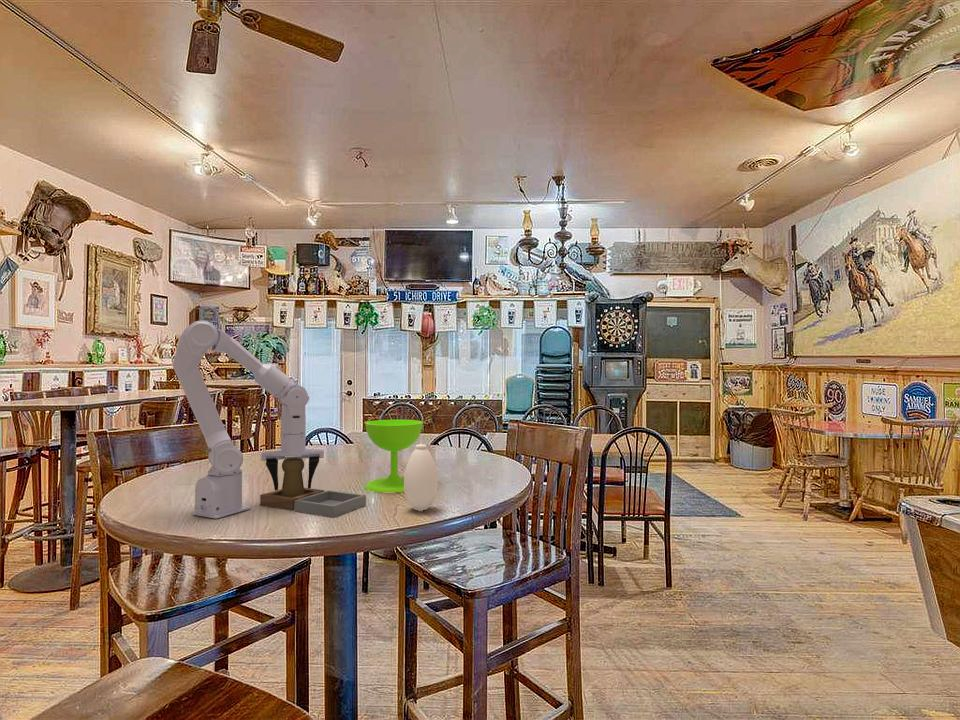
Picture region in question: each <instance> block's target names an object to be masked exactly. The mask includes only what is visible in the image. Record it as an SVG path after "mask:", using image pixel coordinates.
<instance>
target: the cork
mask: <svg viewBox="0 0 960 720" xmlns="http://www.w3.org/2000/svg"><path fill="white" fill-rule="evenodd" d="M304 468H305V462H304V459H299V458H290V459H283V460H282V463H281V469H282V471H283V472H284V473H283V478H282V487H281V489H282V492H281V496H286V497H297V496H300V495H303V494H305V493H304V488H305V487H304V479H303V470H304Z"/></svg>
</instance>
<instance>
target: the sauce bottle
mask: <svg viewBox="0 0 960 720" xmlns="http://www.w3.org/2000/svg"><path fill="white" fill-rule="evenodd" d="M419 437H420V438H419V444H418V443H417V444H416V445H415V449H414V450H413V452H412V453H411V455H410V456H409V458H408V461H407V464H406V467H405V469H404V470H405V471H404V477H403V478H404V497H405V499H406V501H407V503H408V505H409V506H410V507H412V508H413V510H415V511H417V510H418V511H417V512H424V511H423V510H428V509H429V506H432V505H433V503H434V501H435V499H436V498H437V494H438V489H439V477H438V475H439V474H438V470H437V467H436V463H435V461H434V457H433V456H432V454H431V452H430V451H429V449H428V446H427V444H423V435H422V433H420V436H419Z"/></svg>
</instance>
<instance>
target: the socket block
mask: <svg viewBox="0 0 960 720" xmlns="http://www.w3.org/2000/svg"><path fill="white" fill-rule="evenodd" d="M324 491H325V490H324V489H317V488H312V487H311V488H308V487H304V493H305V494H303V495H300V496H297V497H286V496H281V492H282V488H281V489H278V490H272V491H270V492H266V493H261V494H260V495H259V505H260V506H262V505H263V507H269V508H270V507H271V508H275V507H276V508H277V509H282V510H283V509H284V510H288V511H294V500H298V499H301V498H304V497H308V496H311V495H314V494H318V493H321V492H324Z"/></svg>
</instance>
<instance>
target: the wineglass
mask: <svg viewBox="0 0 960 720" xmlns="http://www.w3.org/2000/svg"><path fill="white" fill-rule="evenodd" d="M423 423H424V422H423V421H422V420H415V419H379V420H370V421H366V422H365V423H364V424H365V431H366V434H367V435H368V438H369V439H370V440H371V442H372V443H373V444H374V445H376V446H377V447H378V448H380V449H381V450H385V451H387V452H390V474H389V475H388V477H382V478H376V479H372V480H370V481H369V482H367V483H366V484H365V486H364V489H365V490H366V491H368V490H369V492H371V491H374V492H373V493H377V492H404V477H403V476H402V477H401V476H400V474H399V473H398V464H399V463H398V461H399V460H398V457H399V456H398V452H400V451H403V450H405V449H407V448H410V447H411V446H412V445H413V444H414V443H416V441H417V440H418V439H419V437H420V436H421V434H422V433H421V432H422V431H423V430H422V429H423V425H424V424H423ZM404 493H405V492H404Z"/></svg>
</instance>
